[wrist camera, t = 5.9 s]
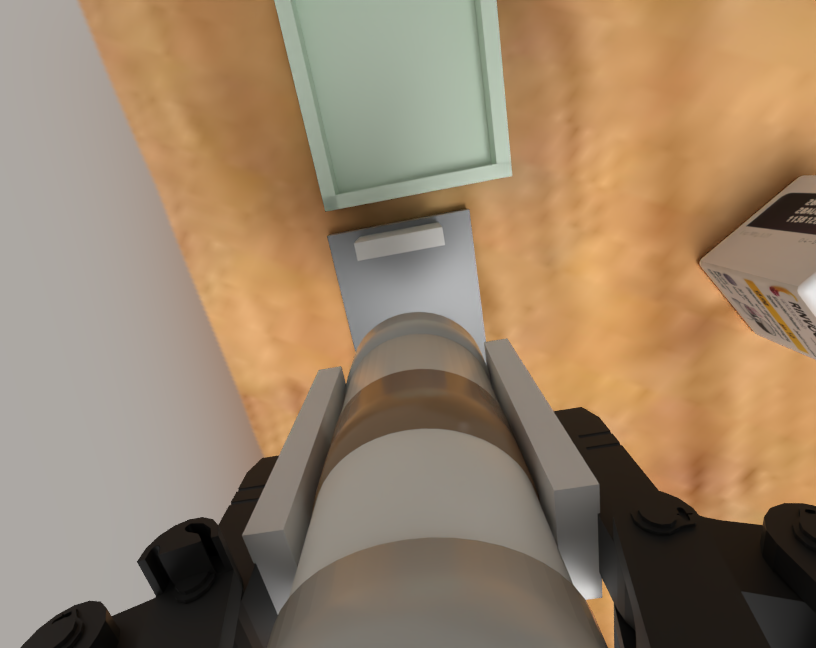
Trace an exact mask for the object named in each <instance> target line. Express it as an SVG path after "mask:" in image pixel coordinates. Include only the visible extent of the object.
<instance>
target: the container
mask: <svg viewBox="0 0 816 648" xmlns="http://www.w3.org/2000/svg"><path fill="white" fill-rule="evenodd" d="M699 264H700V266H701V267H702V269H703V270H704V271H705V272H706V274H707V275H708V276H709V277H710V279H711V280H712V281H713V282H714V283H715V285H716V286H717V287H718V288H719V290H720V291H721V292H722V293H723V294H724V296H725V297H726V298H727V299H728V301H729V302H730V303H731V304H732V306H733V307H734V308H735V309H736V310H737V312H738V313H739V314H740V315H741V317H742V318H743V319H744V320H745V322H746V323H747V324H748V325H749V326H750V328H751V329H752V330H753V331H754V332H755V333H756V334H757V335H759V336H761V337H764V338H766V339H768V340H771V341H773V342H775V343H778V344H780V345H782V346H785V347H787V348H789V349H792V350H794V351H796V352H799V353H801V354H803V355H806V356H808V357H810V358H813V359H815V360H816V175H803V176H800V177H798V178H797V179H796V180H794V181H793V182H792V183H791V184H790V185H788V186H787V187H786V188H785V189H784V190H782V191H781V192H780V193H779V194H778V195H776V196H775V197H774V198H773V199H772V200H771V201H769V202H768V203H767V204H766V205H765V206H763V207H762V208H761V209H760V210H759V211H757V212H756V213H755V214H754V215H753V216H752V217H750V218H749V219H748V220H747V221H746V222H744V223H743V224H742V225H741V226H740V227H738V228H737V229H736V230H735V231H734V232H732V233H731V234H730V235H729V236H728V237H727V238H725V239H724V240H723V241H722V242H721V243H719V244H718V245H717V246H716V247H715V248H713V249H712V250H711V251H710V252H709V253H708V254H706V255H705V256H704V257H703V258H702V259H701V260H700V262H699Z"/></svg>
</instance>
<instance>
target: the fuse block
mask: <svg viewBox="0 0 816 648" xmlns="http://www.w3.org/2000/svg"><path fill="white" fill-rule="evenodd" d="M327 238H328V242H329V246H330V250H331V254H332V258H333V262H334V266H335V270H336V274H337V278H338V282H339V286H340V291H341V295H342V299H343V303H344V307H345V311H346V315H347V319H348V323H349V327H350V331H351V335H352V339H353V343H354V348H355V352H356V351H357V348H358V346H359V345H360V343H361V341H362V340H363V338H364V337H365V336H366V335H367V333H369V332H370V331H371V330H372V329H373V328H374V327H375V326H377V325H378V324H379V323H381V322H383V321H385V320H386V319H388V318H391V317H393V316H396V315H400V314H404V313H410V312H427V313H434V314H438V315H441V316H444V317H446V318H449V319H451V320H453V321H454V322H456V323H458V324H459V325H460V326H462V327H463V328H464V329H465V330H466V331H467V332H468V333H469V334H470V335H471V336H472V337H473V339H474V340H475V341H476V343H477V345H478V347H479V349H480V351H481V354H482V356H483V358H484V361H485V363H486V355H485V347H484V342H486V339H485V331H484V323H483V315H482V307H481V299H480V291H479V283H478V276H477V268H476V260H475V252H474V244H473V236H472V228H471V220H470V212H469V209H462V210H457V211H451V212H446V213H441V214H435V215H430V216H425V217H420V218H414V219H409V220H404V221H398V222H393V223H388V224H382V225H377V226H372V227H366V228H361V229H356V230H351V231H345V232H340V233H335V234H330V235H328V236H327ZM486 365H487V363H486Z"/></svg>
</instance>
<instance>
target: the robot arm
mask: <svg viewBox="0 0 816 648" xmlns="http://www.w3.org/2000/svg"><path fill="white" fill-rule="evenodd" d="M484 347H485V355H486V363H487V368H488V370H489V372H490V375H491V383H492V388H493V390H494V393H495V395H496V398H497V400H498V403H499V405H500V406H501V408H502V410H503V411H504V413H505V415H506V417H507V419H508V422H509V424H510V426H511V429H512V431H513V434H514V436H515V438H516V441H517V443H518V445H519V448H520V450H521V453H522V455H523V457H524V460H525V462H526V464H527V467H528V469H529V472H530V474H531V476H532V479H533V481H534V483H535V486H536V489H537V492H538V495H539V499H540V505H541V507H542V510H543V512H544V515H545V517H546V519H547V522H548V524H549V527H550V529H551V532H552V534H553V536H554V539H555V541H556V544H557V546H558V549H559V551H560V553H561V556H562V558H563V561H564V563H565V566H566V568H567V570H568V573H569V575H570V578H571V580H572V583H573V585H574V586H575V588H576V589H577V590H578V591H579V592H580V594H581V595H582V596H583V597H584V598H585V600H587V599H594V598H602V579H603V581H604V583H605V585H606V587H607V589H608V591H609V593H610V595H611V597H612V599H613V602H614V648H816V506H813V505H808V504H803V503H784V504H781V505H778V506H775V507H772V508H770V509H769V511H768V512H767V514H766V515H765V516H764V521H763V525H756V524H748V523H739V522H730V521H722V520H716V519H711V518H706V517H702V516H700V515H698V514H697V512H696V511H695V510H694V509H693V508H692V507H691V506H689V505H688V504H686V503H685V502H683V501H682V500H680V499H679V498H677V497H674V496H672V495H669V494H667V493H664V492H661V491H659V490H658V489H657V488H656V487H655V486H654V484H653V483H652V482H651V481H650V479H649V478H648V477H647V476H646V474H645V473H644V472H643V471H642V470H641V468H640V467H639V466H638V465H637V463H636V462H635V461H634V460H633V458H632V457H631V456H630V455H629V453H628V452H627V451H626V450H625V449H624V447H623V446H622V445H620V443H619V441H618V440H617V439H616V437H615V436H614V435H613V434H611V433H610V430H609V429H608V428H607V426H606V425H605V424H604V423H603V421H602V420H601V419H600V418H599V417H598V416H596V415H594V414H593V413H591V412H589V411H588V410H586V409H584V408H582V407H579V408H572V409H566V410H559V411H553V410H552V408H551V407H550V405H549V404H548V402H547V401H546V399H545V397H544V396H543V394H542V393H541V391H540V389H539V388H538V386H537V385H536V383H535V382H534V380H533V378H532V377H531V375H530V374H529V372H528V370H527V369H526V367H525V366H524V364H523V363H522V361H521V359H520V358H519V356H518V355H517V353H516V351H515V350H514V348H513V347H512V345H511V344H510V342H509V340H508V339H501V340H495V341H489V342H484ZM345 387H346V383H345V379H344V375H343V371H342V368H341V366H340V367H334V368H328V369H322V370H319V371H318V373H317V375H316V377H315V380H314V382H313V384H312V386H311V388H310V390H309V392H308V395H307V397H306V399H305V401H304V403H303V405H302V408H301V410H300V412H299V414H298V416H297V418H296V420H295V423H294V425H293V427H292V429H291V431H290V433H289V435H288V438H287V440H286V442H285V444H284V446H283V448H282V451H281V453H280V455H279V456H273V457H267V458H262V459H261V460H260V461H259V462H258V463H257V464H256V465H255V466H253V467H252V468H251V470H249V471H248V472H247V474H246V476H245V477H244V479H243V481H242V483H241V485H240V487H239V491H238V492H236V494H235V496H234V498H233V499H232V501H231V505H230V506H229V507H228V509H227V510H226V512H225V514H224V516H223V518H222V520H221V522H220V523H219V525H217V523H216V522H215V521H214V520H213V519H208V518H204V517H201V518H196V519H190V520H187V521H185V522H182V523H180V524H178V525H175V526H174V527H172V528H170V529H169V530H168V531H166V532H164V533H163V534H161V535H160V536H159V537H158V538H156V539H155V540H154V541H153V542H152V543H151V544H150V545H149V546H148V547H147V548H146V549H145V551H144V552H143V554H142V555H141V557H140V558H139V560H138V561H137V563H138V564H139V566H140V568H141V570H142V572H143V573H144V575H145V577H146V579H147V580H148V582H149V584H150V586H151V588H152V589H153V591H154V593H155V595H156V598H154V599H152V600H149V601H147V602H145V603H142V604H140V605H138V606H135V607H133V608H130V609H128V610H126V611H123V612H121V613H118V614H116V615H114V616H111V615H110V613H109V612H108V610H107V608H106V607H105V606H104V605H103V604H102V603H101V602H97V601H88V602H84V603H81V604H78V605H74V606H72V607H71V608H69V609H67V610H65V611H63V612H61V613H60V614H58V615H56V616H55V617H54V618H52V619H51V620H50V621H48V622H47V623H46V624H44V625H43V626H42V627H40V628H39V629H38V630H37V631H36V632H35V633H34V634H33V635H32V636H31V637H30V638H29V639H28V640H27V641H26V642H25V643H24V644H23V645H22V647H21V648H267V645H268V642H269V639H270V635H271V632H272V629H273V625H274V623H275V621H276V618H277V616H278V614H279V612H280V610H281V608H282V607H283V606H284V604H285V603H286V601H287V600H288V598H289V595H290V592H291V588H292V585H293V581H294V578H295V574H296V571H297V567H298V564H299V560H300V557H301V553H302V549H303V546H304V542H305V539H306V535H307V532H308V528H309V525H310V521H311V518H312V508H313V502H314V498H315V494H316V491H317V487H318V484H319V481H320V477H321V474H322V470H323V467H324V464H325V460H326V457H327V453H328V450H329V446H330V443H331V440H332V436H333V433H334V429H335V426H336V423H337V421H338V418H339V416H340V414H341V412H342V408H343V405H344V401H345Z"/></svg>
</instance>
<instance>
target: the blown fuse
mask: <svg viewBox="0 0 816 648" xmlns="http://www.w3.org/2000/svg"><path fill="white" fill-rule="evenodd" d="M267 648H608V647H607V645H606V642H605V640H604V638H603V635H602V633H601V631H600V628H599V626H598V624H597V621H596V619H595V617H594V614H593V612H592V610H591V609H590V607H589V605H588V603H587V602H586V600H585V598H584V597H583V596H582V595H581V594H580V592H579V591H578V590H577V589H576V588H575V586H574V585H573V583H572V580H571V578H570V575H569V573H568V570H567V568H566V566H565V563H564V561H563V558H562V556H561V553H560V551H559V549H558V546H557V544H556V541H555V539H554V536H553V534H552V532H551V529H550V527H549V524H548V522H547V519H546V517H545V515H544V512H543V510H542V507H541V505H540V499H539V495H538V492H537V489H536V486H535V483H534V481H533V479H532V476H531V474H530V472H529V469H528V467H527V464H526V462H525V460H524V457H523V455H522V453H521V450H520V448H519V445H518V443H517V441H516V438H515V436H514V434H513V431H512V429H511V426H510V424H509V422H508V419H507V417H506V415H505V413H504V411H503V410H502V408H501V406H500V405H499V403H498V400H497V398H496V395H495V393H494V390H493V388H492V383H491V375H490V372H489V370H488V368H487V365H486V363H485V361H484V358H483V356H482V354H481V351H480V349H479V347H478V345H477V343H476V341H475V340H474V339H473V337H472V336H471V335H470V334H469V333H468V332H467V331H466V330H465V329H464V328H463V327H462V326H460V325H459V324H458V323H456V322H454V321H453V320H451V319H449V318H446V317H444V316H441V315H438V314H434V313H427V312H410V313H404V314H400V315H396V316H393V317H391V318H388V319H386V320H385V321H383V322H381V323H379V324H378V325H377V326H375V327H374V328H373V329H372V330H371V331H370V332H369V333H367V335H366V336H365V337H364V338H363V340H362V341H361V343H360V345H359V346H358V348H357V351H356V353H355V356H354V359H353V362H352V366H351V369H350V372H349V376H348V379H347V383H346V387H345V401H344V405H343V408H342V412H341V414H340V416H339V418H338V421H337V423H336V426H335V429H334V433H333V436H332V440H331V443H330V446H329V450H328V453H327V457H326V460H325V464H324V467H323V470H322V474H321V477H320V481H319V484H318V487H317V491H316V494H315V498H314V502H313V508H312V518H311V521H310V525H309V528H308V532H307V535H306V539H305V542H304V546H303V549H302V553H301V557H300V560H299V564H298V567H297V571H296V574H295V578H294V581H293V585H292V588H291V592H290V595H289V598H288V600H287V601H286V603H285V604H284V606H283V607H282V608H281V610H280V612H279V614H278V616H277V618H276V621H275V623H274V625H273V629H272V632H271V635H270V639H269V642H268V645H267Z"/></svg>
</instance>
